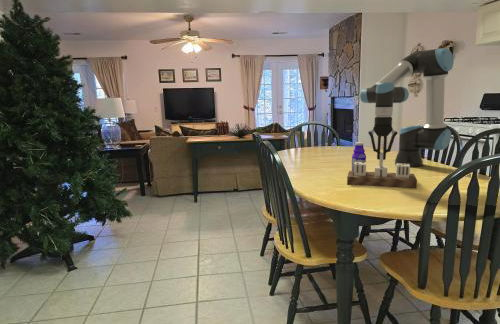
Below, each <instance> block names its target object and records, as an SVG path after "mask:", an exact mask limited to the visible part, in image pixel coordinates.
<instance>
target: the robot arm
mask: <svg viewBox="0 0 500 324" xmlns="http://www.w3.org/2000/svg"><path fill="white" fill-rule="evenodd" d="M453 67H454V56H453V53H452V52H451V50H450V49H449V48H445V47H443V48H435V49H426V50H418V51H415V52H413V53H410V54H408V55H407V56H405V57H404V58H402V59H400V60H399V61H397V63H396V66H395V67H394V68H393V69H391V71H389V72H388V73H387V74H386V75H385V76H383V77H382V78H381V79H380V80H379V81H377V82H376V83H374V85H371V87H364V88H363V89H362V90H361V91H360V93H359V98H360V101H361V102H362V103H365V104H375V106H374V107H375V108H374V116H375V117H374V126H373V127H372V129H371V130H369V131H368V135H369V136H370V141H371V145H372V149H373V152H375V153H376V160H379V161H378V166H379V167H383V165H384V161H385V160H386V158H387V153H390V152H391V149H392V147H393V143H394V141H395V138H396V136H397V135H398V131H396V130H394V129H393V117H392V116H393V109H394V108H393V107H394V104H401V103H404V102H406V101H407V100H408V98H409V97H410V92H409V89H408V88H406V87H404V86H398V85H399V83H400V82H401V81H403V80H404V79H405V78H409V77H410V76H412V75H414V74H415V75H416V74H422V75H423V78H424V79H425V80H426V81H425V83H426V84H425V86H426V87H425V91H426V92H425V93H426V94H425V96H426V97H425V123H424V124H423V125H410V126H402V127H401V128H400V129H399V135H398V136H399V139H398V141H399V142H398V152H397V155H396V157H395V159H394V164H395V165H396V163H398V164H405V163H407V164H409V165H410V168H411V167H413V168H414V167H415V168H416V167H422V166H423V162H424V161H423V158H422V157H423V156H422V154H421V149H422V150H423V149H425V150H433V151H443V150H445V149H446V148H447V147H448V146H449V144H450V142H451V140H452V132H451V130H450V129H449V128H447V127H448V126H447V124H446V123H445V122H444V121H445V116H444V115H445V112H444V111H445V86H446V85H445V82H446V81H445V80H446V79H445V78H446V77H447V76H448V75H449V72H451V71H452V70H453ZM374 133H375V135H376V136H377V147H376V143H375V137H374ZM390 134H391V137H390V140H389V143H388V147H387V140H388V136H389V135H390ZM382 137H383V148H382V152H381V146H382V145H381V143H382V140H381V139H382Z"/></svg>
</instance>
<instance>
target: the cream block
mask: <svg viewBox="0 0 500 324" xmlns="http://www.w3.org/2000/svg"><path fill="white" fill-rule="evenodd" d="M374 172H375V177H387V173H388V166H386V165H385V166H383V167H379V165H375V166H374Z"/></svg>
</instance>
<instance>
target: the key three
mask: <svg viewBox="0 0 500 324" xmlns="http://www.w3.org/2000/svg"><path fill="white" fill-rule="evenodd" d="M395 165H396V166H395V173H396V178H409V175H410V174H411V167H410V165H409V164H407V163H405V164H398V163H396V164H395Z"/></svg>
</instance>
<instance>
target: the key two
mask: <svg viewBox="0 0 500 324" xmlns="http://www.w3.org/2000/svg"><path fill="white" fill-rule="evenodd" d="M366 172H367V161H366V162H355V163H354V175H355V176H366Z"/></svg>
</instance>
